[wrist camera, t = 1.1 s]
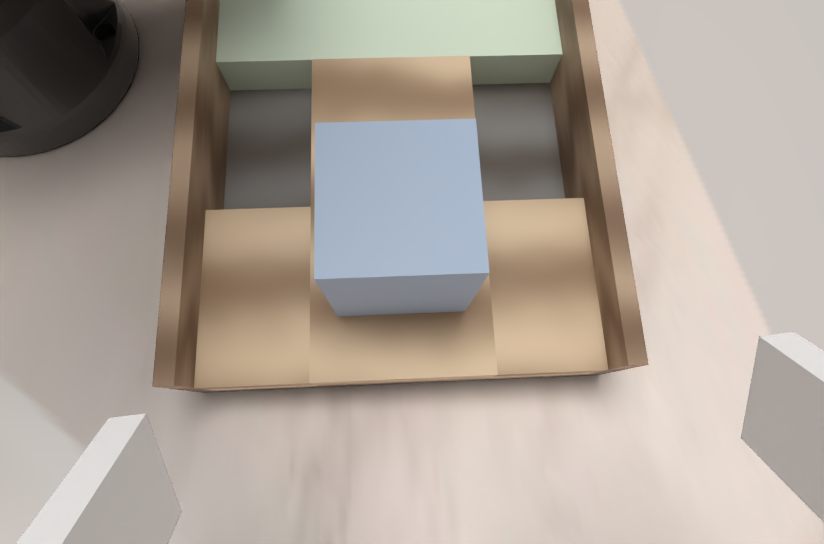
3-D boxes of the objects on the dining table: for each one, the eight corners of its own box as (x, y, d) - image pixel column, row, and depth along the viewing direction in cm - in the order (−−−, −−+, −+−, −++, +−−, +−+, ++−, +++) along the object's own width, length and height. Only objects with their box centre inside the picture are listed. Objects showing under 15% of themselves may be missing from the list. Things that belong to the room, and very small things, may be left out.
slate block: (465, 311, 28) (489, 272, 21) (337, 316, 28) (314, 279, 20) (456, 194, 30) (476, 118, 23) (336, 197, 30) (315, 122, 22)
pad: (549, 82, 36) (562, 54, 33) (230, 90, 35) (215, 61, 32) (534, -33, 39) (544, -69, 36) (237, -28, 38) (224, -64, 35)
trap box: (599, 374, 32) (648, 364, 25) (202, 392, 31) (152, 386, 25) (543, -23, 40) (570, -105, 33) (227, -17, 39) (194, -100, 32)
